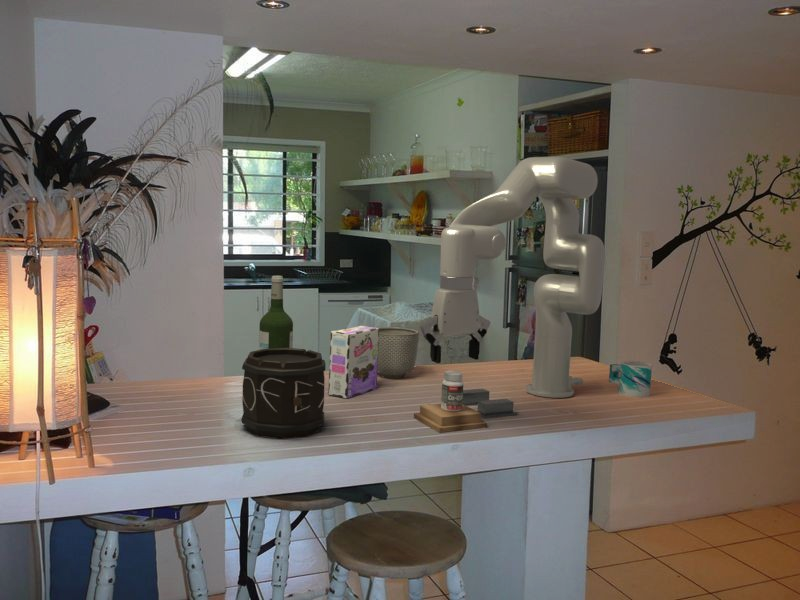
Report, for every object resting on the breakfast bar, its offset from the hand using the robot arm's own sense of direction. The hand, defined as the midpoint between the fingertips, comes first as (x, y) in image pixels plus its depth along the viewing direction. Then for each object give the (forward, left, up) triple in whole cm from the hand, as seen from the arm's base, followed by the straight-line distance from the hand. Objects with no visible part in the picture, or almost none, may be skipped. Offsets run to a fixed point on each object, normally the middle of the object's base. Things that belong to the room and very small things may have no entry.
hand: (454, 360), depth 166 cm
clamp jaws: (-13, -8, -14) cm, 21 cm away
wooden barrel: (+37, -8, -14) cm, 40 cm away
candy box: (+11, -32, -14) cm, 36 cm away
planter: (-7, -46, -14) cm, 48 cm away
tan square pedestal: (+1, 0, -14) cm, 14 cm away
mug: (-61, -10, -14) cm, 64 cm away
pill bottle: (0, 0, -11) cm, 11 cm away
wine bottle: (+32, -31, -14) cm, 46 cm away
